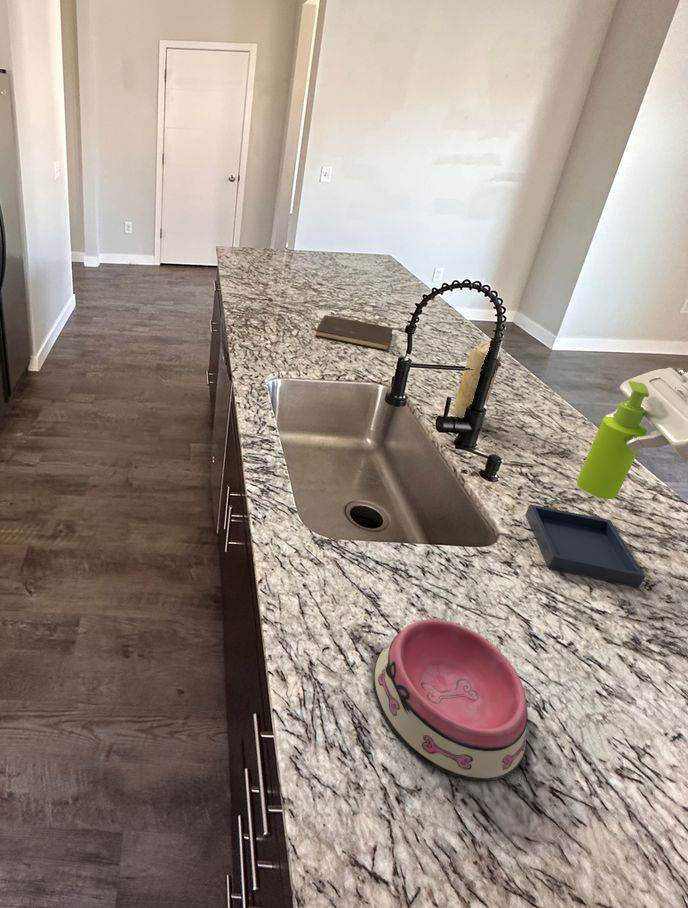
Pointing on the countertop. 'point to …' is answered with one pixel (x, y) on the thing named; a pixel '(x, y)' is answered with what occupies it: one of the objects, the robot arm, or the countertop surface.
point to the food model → (472, 379)
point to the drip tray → (583, 546)
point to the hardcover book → (354, 332)
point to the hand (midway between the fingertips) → (617, 433)
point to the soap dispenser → (614, 447)
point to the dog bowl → (453, 700)
